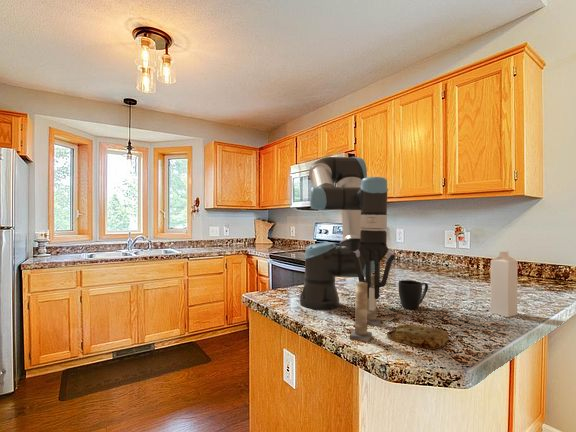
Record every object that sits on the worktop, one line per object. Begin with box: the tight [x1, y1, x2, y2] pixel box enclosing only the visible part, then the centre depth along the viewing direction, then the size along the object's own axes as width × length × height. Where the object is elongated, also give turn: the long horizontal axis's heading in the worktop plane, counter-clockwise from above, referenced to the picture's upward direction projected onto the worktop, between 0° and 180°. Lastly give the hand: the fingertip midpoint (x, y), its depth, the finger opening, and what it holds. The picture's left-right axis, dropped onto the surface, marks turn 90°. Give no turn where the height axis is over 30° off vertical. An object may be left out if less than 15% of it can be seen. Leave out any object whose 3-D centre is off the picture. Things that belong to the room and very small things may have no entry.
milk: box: [489, 251, 519, 318], centre depth 110 cm, size 6×6×22 cm
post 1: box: [349, 281, 373, 343], centre depth 86 cm, size 5×5×15 cm
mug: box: [398, 279, 429, 311], centre depth 117 cm, size 8×12×10 cm
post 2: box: [367, 273, 381, 327], centre depth 98 cm, size 5×5×15 cm
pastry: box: [386, 323, 450, 350], centre depth 86 cm, size 17×17×3 cm
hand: (372, 309), depth 92 cm, fingers closed
